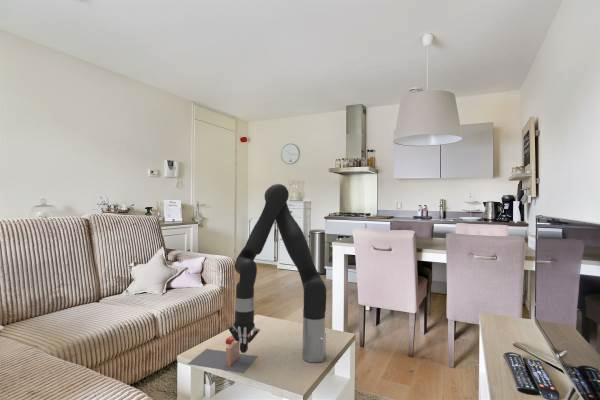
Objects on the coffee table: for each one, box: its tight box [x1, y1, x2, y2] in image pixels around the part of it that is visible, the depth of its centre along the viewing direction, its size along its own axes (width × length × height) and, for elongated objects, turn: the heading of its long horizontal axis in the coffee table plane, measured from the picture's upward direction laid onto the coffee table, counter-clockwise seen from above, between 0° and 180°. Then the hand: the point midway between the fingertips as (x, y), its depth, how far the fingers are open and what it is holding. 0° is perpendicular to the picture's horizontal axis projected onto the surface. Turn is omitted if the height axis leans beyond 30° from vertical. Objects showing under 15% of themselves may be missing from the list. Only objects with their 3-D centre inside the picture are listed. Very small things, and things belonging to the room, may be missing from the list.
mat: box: [187, 348, 259, 374], centre depth 132 cm, size 24×14×1 cm, turn 75°
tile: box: [225, 340, 240, 366], centre depth 131 cm, size 2×8×7 cm, turn 165°
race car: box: [225, 331, 252, 345], centre depth 152 cm, size 13×5×4 cm, turn 138°
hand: (243, 351), depth 129 cm, fingers closed
